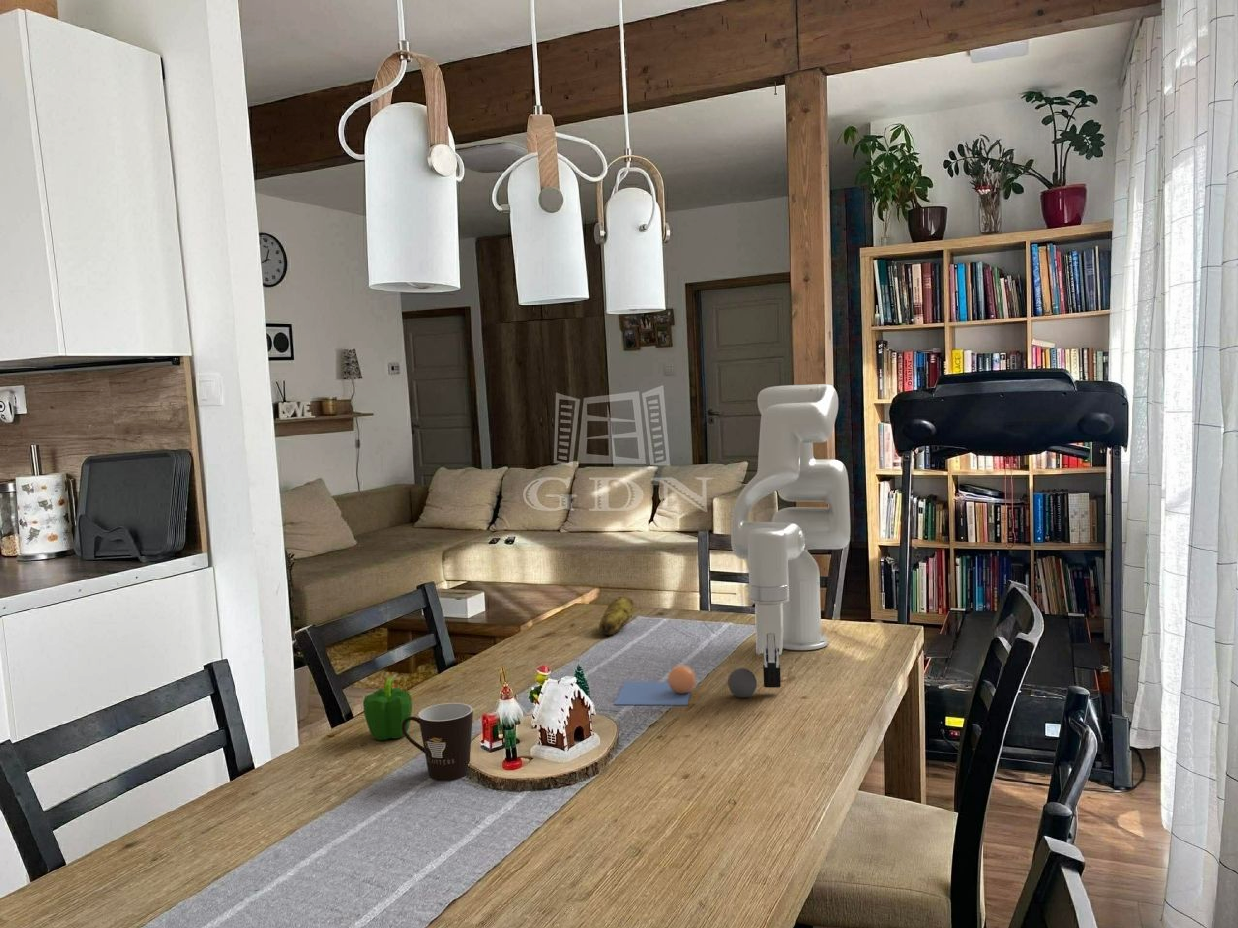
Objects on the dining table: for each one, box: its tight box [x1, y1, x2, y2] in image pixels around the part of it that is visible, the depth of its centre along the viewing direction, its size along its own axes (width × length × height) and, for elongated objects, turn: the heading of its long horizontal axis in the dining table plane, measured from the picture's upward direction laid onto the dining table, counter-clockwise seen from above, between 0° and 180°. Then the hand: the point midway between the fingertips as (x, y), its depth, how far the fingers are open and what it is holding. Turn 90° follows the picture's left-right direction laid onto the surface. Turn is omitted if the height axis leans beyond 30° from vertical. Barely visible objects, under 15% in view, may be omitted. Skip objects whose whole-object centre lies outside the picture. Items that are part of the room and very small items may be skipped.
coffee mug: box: [402, 702, 474, 782], centre depth 150 cm, size 12×9×10 cm
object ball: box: [667, 664, 697, 694], centre depth 184 cm, size 6×6×6 cm
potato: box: [598, 596, 635, 636], centre depth 235 cm, size 8×13×8 cm, turn 137°
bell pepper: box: [362, 677, 413, 741], centre depth 167 cm, size 8×8×10 cm
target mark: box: [614, 681, 691, 706], centre depth 185 cm, size 14×14×1 cm
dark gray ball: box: [727, 667, 758, 698], centre depth 180 cm, size 6×6×6 cm
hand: (772, 685), depth 181 cm, fingers closed
